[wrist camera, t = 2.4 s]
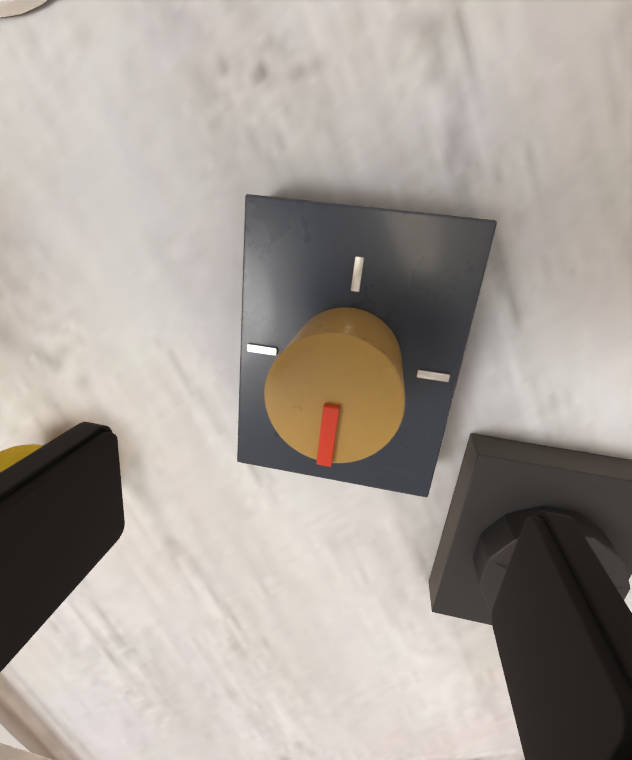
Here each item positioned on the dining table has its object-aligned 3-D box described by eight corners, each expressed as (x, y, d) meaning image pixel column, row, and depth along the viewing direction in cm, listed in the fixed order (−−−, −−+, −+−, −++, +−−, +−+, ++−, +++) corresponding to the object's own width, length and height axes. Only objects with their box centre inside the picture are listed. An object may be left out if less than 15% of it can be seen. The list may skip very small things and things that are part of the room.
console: (265, 197, 19) (243, 193, 16) (481, 220, 18) (499, 220, 15) (254, 434, 24) (235, 463, 21) (423, 465, 23) (428, 500, 20)
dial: (296, 299, 18) (265, 325, 13) (411, 315, 17) (419, 348, 13) (287, 402, 20) (257, 455, 15) (391, 419, 19) (391, 479, 15)
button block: (470, 433, 22) (486, 475, 18) (650, 463, 21) (706, 515, 17) (428, 582, 26) (434, 641, 22) (576, 613, 25) (608, 681, 21)
